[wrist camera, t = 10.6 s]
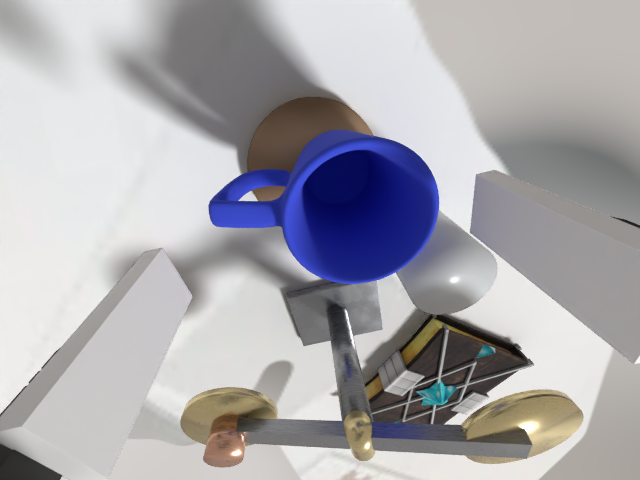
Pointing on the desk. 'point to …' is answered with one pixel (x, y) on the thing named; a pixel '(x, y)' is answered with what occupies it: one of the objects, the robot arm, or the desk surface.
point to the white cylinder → (448, 270)
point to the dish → (296, 135)
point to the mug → (342, 206)
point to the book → (441, 373)
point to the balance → (357, 423)
